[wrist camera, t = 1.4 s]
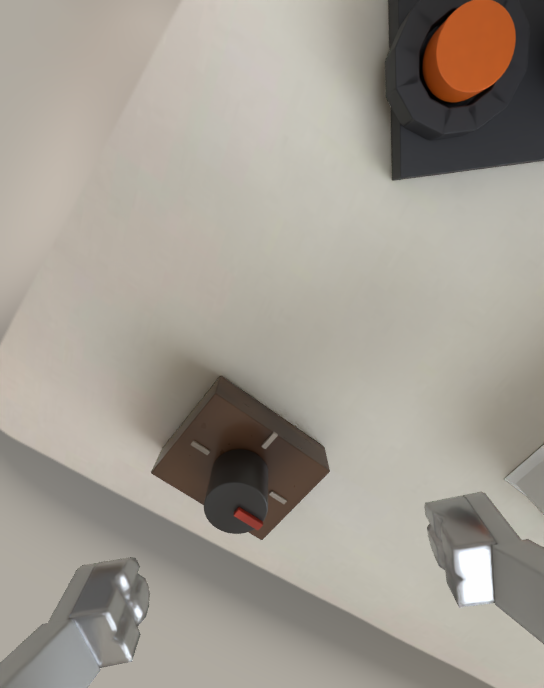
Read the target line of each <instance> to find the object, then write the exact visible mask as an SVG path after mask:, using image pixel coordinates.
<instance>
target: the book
mask: <svg viewBox="0 0 544 688" xmlns="http://www.w3.org/2000/svg"><path fill="white" fill-rule="evenodd" d="M504 480H506V481H507V482H508V483H510V484H511V485H512V486H514V487H515V488H516V489H518V490H519V491H520V492H522V493H523V494H524V495H526V496H527V497H528V498H529V499H530V500H531V501H532V502H533V503H534V505H535V506H536V507H537V508H538V509H539V510H540V511H541V512H542V513H543V515H544V445H543V446H542V447H540V448H539V449H538V450H537V451H536V452H535V453H533V454H532V455H531V456H530V457H529V458H528V459H527V460H525V461H524V462H523V463H522V464H521V465H520V466H519V467H517V468H516V469H515V470H514V471H513V472H512V473H510V474H509V475H508V476H507V477H506V478H505V479H504Z"/></svg>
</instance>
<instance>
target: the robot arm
mask: <svg viewBox="0 0 544 688" xmlns="http://www.w3.org/2000/svg"><path fill="white" fill-rule="evenodd" d="M425 515H426V517H427V519H428V521H429V523H430V524H429V525H428V527H427V531H428V537H429V541H430V545H431V548H432V551H433V554H434V556H435V558H436V561H437V563H438V565H439V566H440V567H441V568H442V569H444V570H445V572H446V580H447V584H448V586H449V588H450V590H451V592H452V594H453V596H454V598H455V600H456V602H457V604H458V606H459V608H460V607H467V606H475V605H482V604H490V603H495V605H496V606H498V607H499V608H500V609H501V610H503V611H504V612H505V613H506V614H507V615H509V616H510V617H511V618H512V619H514V620H515V621H516V622H517V623H519V624H520V625H521V626H522V627H523V628H525V629H526V630H527V631H528V632H530V633H531V634H532V635H533V636H534V637H536V638H537V639H538V640H539V641H541V642H542V643H543V644H544V547H542V546H540V545H538V544H536V543H534V542H532V541H530V540H528V539H526V540H521V539H520V537H519V536H518V535H517V534H516V532H515V531H514V530H513V528H512V527H511V526H510V525H509V523H508V522H507V521H506V519H505V518H504V517H503V516H502V514H501V513H500V512H499V510H498V509H497V508H496V507H495V505H494V504H493V503H492V501H491V500H490V499H489V498H488V496H487V495H486V494H485V493H483V492H477V493H472V494H467V495H463V496H457V497H452V498H447V499H442V500H437V501H432V502H427V503H425ZM139 568H140V566H139V564H138V562H137V560H136V558H132V557H130V558H124V559H117V560H111V561H104V562H99V563H94V564H88V565H82V566H81V567H80V568H78V569H77V570H76V572H75V574H74V576H73V578H72V579H71V581H70V583H69V585H68V587H67V589H66V590H65V592H64V594H63V596H62V598H61V600H60V601H59V603H58V605H57V607H56V609H55V610H54V612H53V614H52V616H51V618H50V620H49V622H48V623H46V624H42V625H41V626H40V627H39V628H38V629H36V630H35V631H34V632H33V633H32V634H31V635H30V636H29V637H28V638H27V639H26V640H24V641H23V642H22V643H21V644H20V645H19V646H18V647H17V648H16V649H15V650H14V651H12V652H11V653H10V654H9V655H8V656H7V657H6V658H5V659H4V660H3V661H2V662H1V663H0V688H88V686H89V685H90V683H91V682H92V681H93V680H94V678H95V677H96V675H97V674H98V673H99V671H100V668H102V667H107V666H112V665H117V664H122V663H127V662H132V660H133V656H134V653H135V650H136V647H137V644H138V640H139V637H140V632H139V629H138V625H139V624H140V623H141V622H142V621H143V620H144V618H145V617H146V614H147V611H148V607H149V597H150V593H149V587H148V583H147V581H146V579H145V578H144V577H142V576H141V575H139V574H138V571H139Z"/></svg>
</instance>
